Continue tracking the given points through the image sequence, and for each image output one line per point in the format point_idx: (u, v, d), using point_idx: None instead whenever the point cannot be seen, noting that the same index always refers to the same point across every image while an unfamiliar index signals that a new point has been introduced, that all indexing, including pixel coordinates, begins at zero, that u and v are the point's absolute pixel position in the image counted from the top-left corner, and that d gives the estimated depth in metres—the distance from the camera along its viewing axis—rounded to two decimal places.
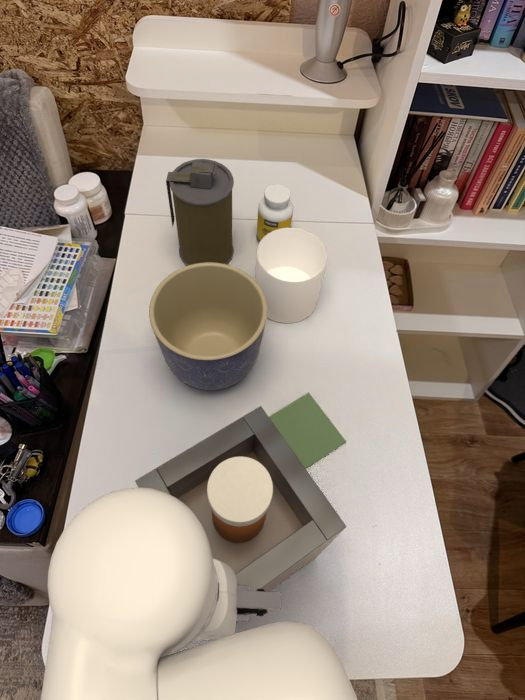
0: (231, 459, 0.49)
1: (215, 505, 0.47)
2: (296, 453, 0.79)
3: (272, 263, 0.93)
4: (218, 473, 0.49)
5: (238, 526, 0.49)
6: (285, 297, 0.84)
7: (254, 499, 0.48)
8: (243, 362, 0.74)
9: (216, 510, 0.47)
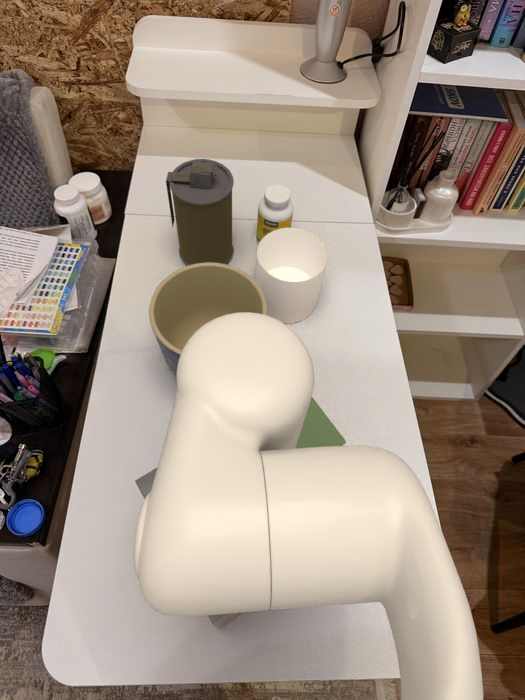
0: None
1: None
2: None
3: (272, 263, 0.93)
4: None
5: None
6: (285, 297, 0.84)
7: None
8: None
9: None
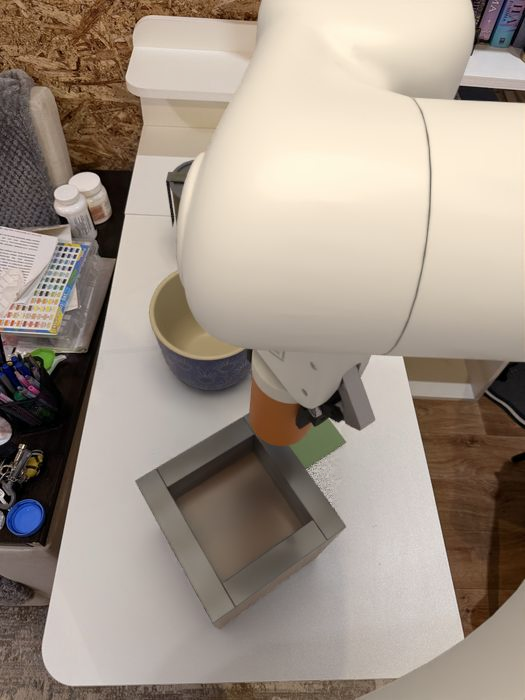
0: None
1: (263, 374, 0.37)
2: (296, 453, 0.79)
3: None
4: None
5: (290, 405, 0.39)
6: None
7: None
8: (243, 362, 0.74)
9: (265, 379, 0.37)
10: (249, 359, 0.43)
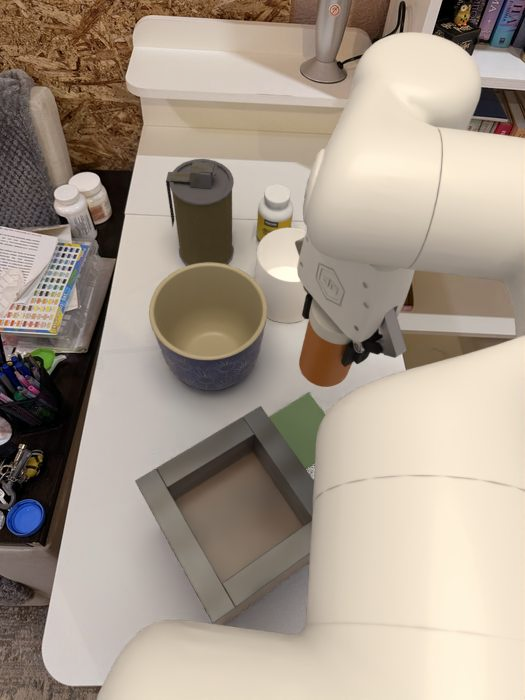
0: None
1: (321, 320, 0.50)
2: (296, 453, 0.79)
3: (272, 263, 0.93)
4: None
5: (339, 346, 0.51)
6: (285, 297, 0.84)
7: None
8: (243, 362, 0.74)
9: (322, 324, 0.50)
10: (304, 315, 0.55)
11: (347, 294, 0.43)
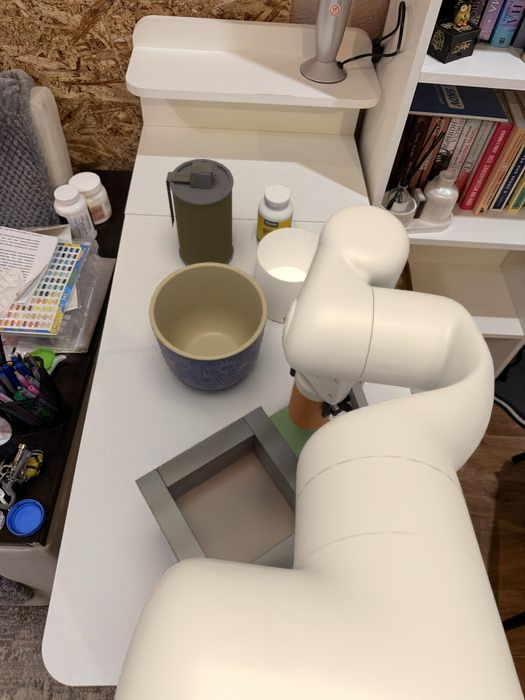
0: None
1: (303, 383, 0.62)
2: (296, 453, 0.79)
3: (272, 263, 0.93)
4: None
5: (319, 403, 0.63)
6: (285, 297, 0.84)
7: None
8: (243, 362, 0.74)
9: (305, 387, 0.62)
10: (291, 374, 0.67)
11: None
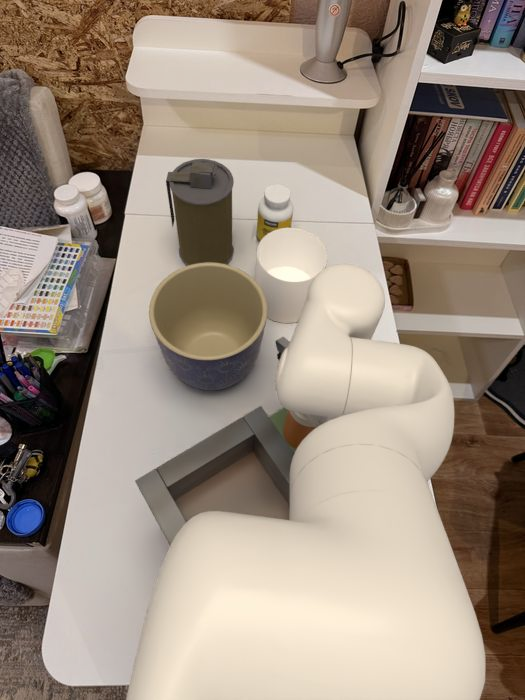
0: None
1: None
2: None
3: (272, 263, 0.93)
4: None
5: (310, 427, 0.71)
6: (285, 297, 0.84)
7: None
8: (243, 362, 0.74)
9: (297, 414, 0.69)
10: None
11: None
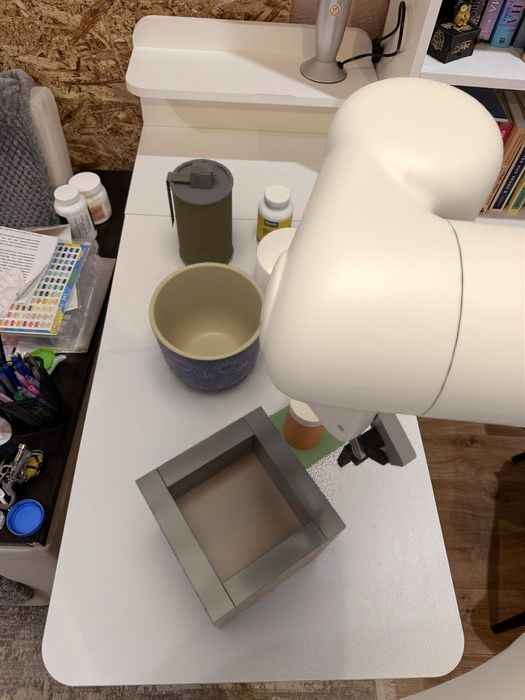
0: None
1: (296, 411, 0.69)
2: (296, 453, 0.79)
3: (272, 263, 0.93)
4: None
5: (310, 427, 0.71)
6: None
7: None
8: (243, 362, 0.74)
9: (297, 414, 0.69)
10: None
11: None
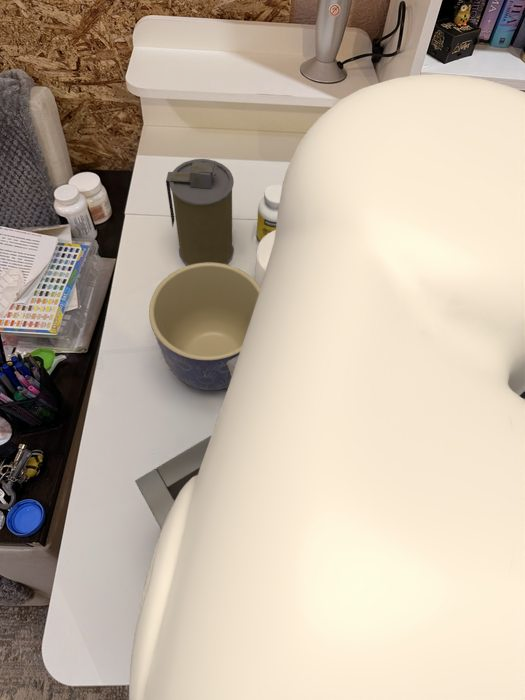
0: None
1: None
2: None
3: None
4: None
5: None
6: None
7: None
8: None
9: None
10: None
11: None
